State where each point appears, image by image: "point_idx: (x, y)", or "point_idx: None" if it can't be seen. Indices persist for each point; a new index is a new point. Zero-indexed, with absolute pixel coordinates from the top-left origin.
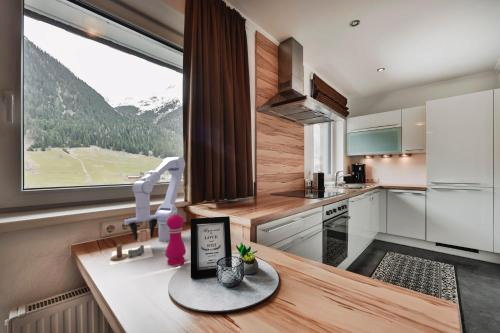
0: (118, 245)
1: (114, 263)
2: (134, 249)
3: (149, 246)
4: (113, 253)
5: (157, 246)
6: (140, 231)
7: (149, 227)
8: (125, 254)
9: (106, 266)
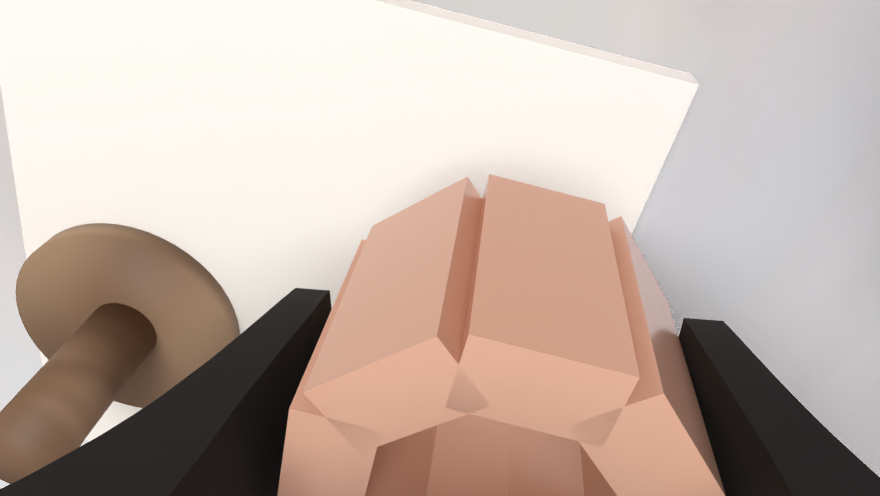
0: (2, 460)
1: (97, 424)
2: (366, 113)
3: (643, 157)
4: (17, 42)
5: (797, 156)
6: (424, 405)
7: (784, 490)
8: (200, 313)
9: (31, 368)
